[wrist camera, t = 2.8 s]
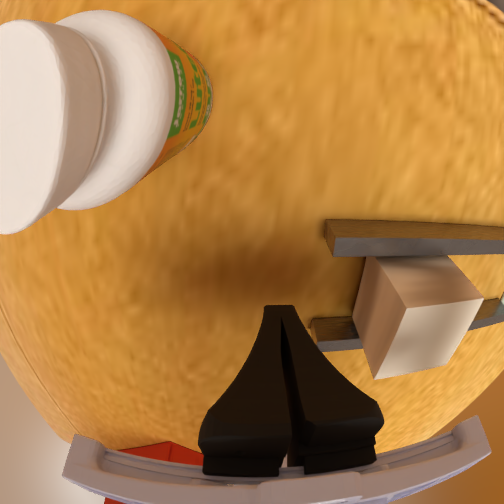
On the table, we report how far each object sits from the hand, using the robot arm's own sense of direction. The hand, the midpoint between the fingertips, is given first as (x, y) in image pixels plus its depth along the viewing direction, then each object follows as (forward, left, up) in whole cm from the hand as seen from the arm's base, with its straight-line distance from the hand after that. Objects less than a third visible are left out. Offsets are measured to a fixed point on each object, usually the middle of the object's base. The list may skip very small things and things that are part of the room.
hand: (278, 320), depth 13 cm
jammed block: (+8, 0, -3) cm, 8 cm away
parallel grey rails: (+12, 0, -3) cm, 12 cm away
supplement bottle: (-5, +10, -3) cm, 12 cm away
